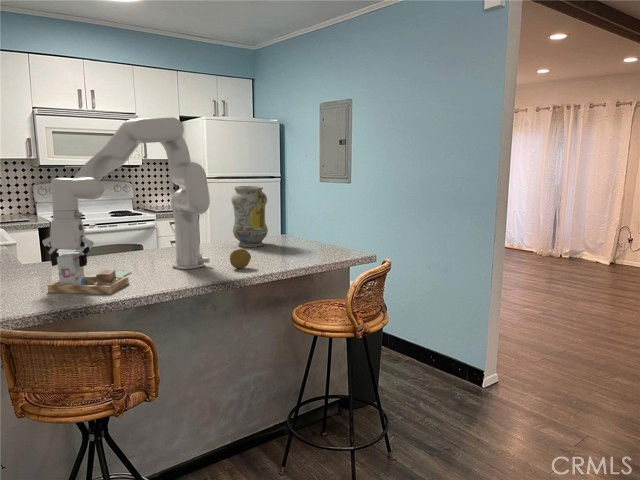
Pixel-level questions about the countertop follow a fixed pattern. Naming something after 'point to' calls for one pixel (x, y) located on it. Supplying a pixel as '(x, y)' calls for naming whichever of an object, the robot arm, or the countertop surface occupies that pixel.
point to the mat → (118, 273)
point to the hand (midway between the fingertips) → (69, 265)
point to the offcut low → (106, 283)
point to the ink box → (70, 269)
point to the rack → (88, 286)
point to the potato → (240, 258)
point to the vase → (249, 215)
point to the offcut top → (106, 276)
